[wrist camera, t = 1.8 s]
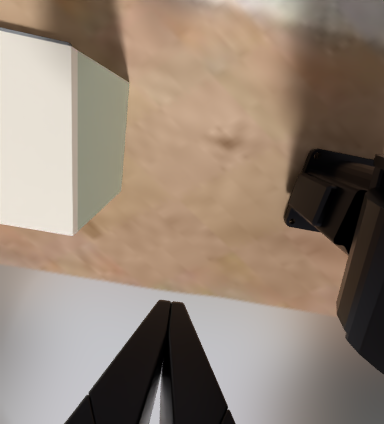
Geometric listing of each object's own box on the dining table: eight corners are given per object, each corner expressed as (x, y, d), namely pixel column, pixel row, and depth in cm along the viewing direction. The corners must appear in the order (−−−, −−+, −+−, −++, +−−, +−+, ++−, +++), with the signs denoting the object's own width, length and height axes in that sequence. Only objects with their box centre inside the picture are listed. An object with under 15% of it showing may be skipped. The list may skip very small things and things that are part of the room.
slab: (129, 82, 16) (71, 46, 8) (121, 190, 19) (72, 235, 11) (78, 71, 15) (-29, 24, 8) (78, 183, 18) (-1, 223, 11)
